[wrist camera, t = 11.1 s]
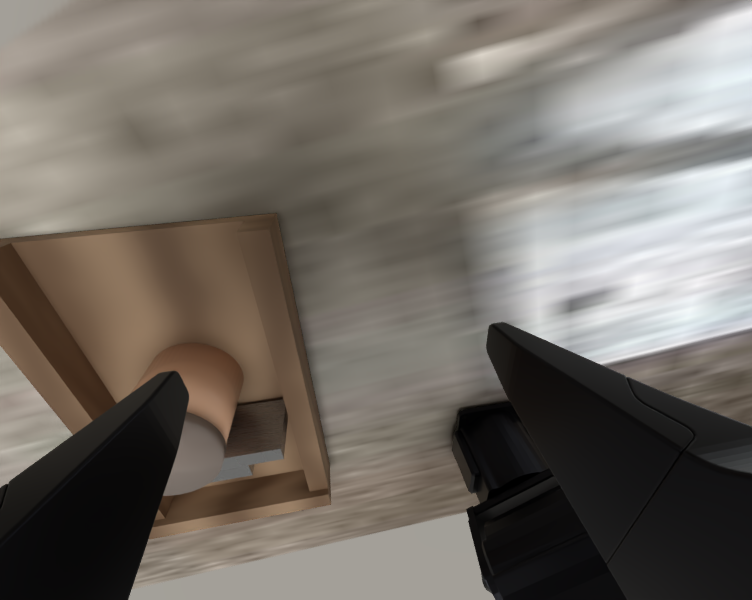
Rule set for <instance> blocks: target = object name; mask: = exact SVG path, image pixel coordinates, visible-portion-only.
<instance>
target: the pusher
mask: <svg viewBox="0 0 752 600" xmlns="http://www.w3.org/2000/svg"><path fill="white" fill-rule="evenodd" d="M287 423H288V413H287V410H286V406H285V403H284V399H281V400H275V401H268V402H262V403H256V404H249V405H243V406H237V407H236V411H235V414H234V418H233V421H232V425H231V429H230V432H229V436H228V439H227V443H226V454H225V457H224V461H223V464H222V468H221V471H220V472H219V474H218V475H217V477H216V478H215V479H214V480H213V481H212V482H218V481H223V480H229V479H235V478H240V477H246V476H251V475H253V470H254V465H255V464H258V463H264V462H269V461H275V460H281V459H284V453H285V443H286V433H287ZM212 482H210V483H212Z"/></svg>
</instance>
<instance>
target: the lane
mask: <svg viewBox="0 0 752 600" xmlns="http://www.w3.org/2000/svg"><path fill="white" fill-rule="evenodd" d="M184 343H199V344H205V345H210V346H213V347H216V348H218V349H221V350H223V351H224V352H226V353H228V354H229V355H230V356H232V357H233V358H234V359H235V360H236V361H237V362H238V364H239V365H240V367H241V369H242V372H243V377H244V381H243V386H242V389H241V393H240V397H239V400H238V404H237V406H243V405H249V404H256V403H262V402H268V401H275V400H281V399H284V403H285V406H286V410H287V413H288V423H287V433H286V443H285V453H284V459H281V460H275V461H269V462H264V463H258V464H255V465H254V470H253V475H251V476H246V477H240V478H235V479H229V480H223V481H218V482H212V483H209V484H207V485H206V486H204V487H202V488H200V489H198V490H195V491H192V492H189V493H184V494H179V495H172V496H163V497H162V500H161V503H160V506H159V509H158V512H157V515H156V518H155V521H154V524H153V527H152V530H151V533H150V536H149V539H154V538H159V537H164V536H169V535H175V534H180V533H185V532H190V531H196V530H201V529H206V528H211V527H216V526H222V525H227V524H232V523H237V522H243V521H248V520H253V519H258V518H263V517H269V516H274V515H279V514H284V513H290V512H295V511H300V510H305V509H310V508H316V507H321V506H326V505H331V490H330V464H329V459H328V454H327V449H326V445H325V440H324V435H323V431H322V426H321V421H320V416H319V412H318V407H317V402H316V397H315V393H314V388H313V383H312V379H311V374H310V369H309V364H308V360H307V355H306V350H305V346H304V341H303V336H302V331H301V327H300V322H299V317H298V312H297V308H296V303H295V298H294V294H293V289H292V284H291V279H290V275H289V270H288V265H287V260H286V256H285V251H284V246H283V242H282V237H281V232H280V227H279V223H278V218H277V213H272V214H262V215H251V216H240V217H230V218H219V219H208V220H198V221H187V222H176V223H166V224H155V225H144V226H134V227H123V228H112V229H102V230H91V231H80V232H69V233H59V234H48V235H37V236H27V237H16V238H5V239H0V346H1V347H2V348H3V349H4V351H5V352H6V353H7V354H8V356H9V357H10V358H11V359H12V360H13V362H14V363H15V364H16V365H17V367H18V368H19V369H20V370H21V371H22V373H23V374H24V375H25V376H26V378H27V379H28V380H29V381H30V383H31V384H32V385H33V386H34V387H35V389H36V390H37V391H38V392H39V394H40V395H41V396H42V397H43V398H44V400H45V401H46V402H47V403H48V405H49V406H50V407H51V408H52V409H53V411H54V412H55V413H56V414H57V416H58V417H59V418H60V419H61V420H62V422H63V423H64V424H65V425H66V427H67V428H68V429H69V430H70V432H71V433H72V434H73V435H74V434H75V433H77V432H78V431H80V430H81V429H82V428H84V427H85V426H86V425H88V424H89V423H91V422H92V421H93V420H95V419H96V418H97V417H99V416H100V415H102V414H103V413H104V412H106V411H107V410H109V409H110V408H111V407H113V406H114V405H115V404H117V403H118V402H120V401H121V400H122V399H124V398H125V397H126V396H128V395H129V394H130V393H131V392H132V391H133V389H134V388H135V386H136V385H137V383H138V382H139V380H140V379H141V377H142V376H143V374H144V373H145V371H146V370H147V368H148V367H149V365H150V364H151V362H152V361H153V360H154V358H155V357H156V356H157V355H158V354H159V353H160V352H161V351H163V350H165V349H167V348H169V347H171V346H174V345H178V344H184Z"/></svg>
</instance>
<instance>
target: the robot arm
mask: <svg viewBox="0 0 752 600" xmlns="http://www.w3.org/2000/svg"><path fill="white" fill-rule="evenodd" d="M486 349H487V353H488V355H489V358H490V360H491V362H492V364H493V366H494V369H495V371H496V373H497V375H498V378H499V380H500V382H501V384H502V386H503V389H504V391H505V393H506V395H507V397H508V398H509V400H510V402H508V403H502V404H496V405H490V406H484V407H478V408H472V409H466V410H462V411H460V412H459V413H458V417H457V426H456V431H455V432H454V437H453V446H452V451H453V453H454V457H455V459H456V461H457V463H458V466H459V468H460V471H461V473H462V476H463V478H464V481H465V483H466V486H467V488H468V491H469V492H471V493H476V494H477V497H478V499H479V501H480V504H478V505H476V506H474V507H473V506H471V507H469V508H468V509H466V510H467V514H468V517H469V521H468V522H469V526H470V530H471V534H472V538H473V541H474V546H475V549H476V553H477V557H478V561H479V565H480V569H481V575H482V581H483V584H484V587H485V588H486V590H487V591H489V592H491V593H492V594H493V596H494V598H495V600H752V426H749V425H747V424H744V423H741V422H739V421H736V420H734V419H731V418H728V417H726V416H723V415H720V414H718V413H715V412H713V411H710V410H707V409H705V408H702V407H700V406H697V405H694V404H692V403H689V402H687V401H684V400H682V399H679V398H677V397H674V396H672V395H669V394H667V393H664V392H662V391H660V390H657V389H655V388H652V387H650V386H648V385H645V384H643V383H641V382H639V381H636V380H634V379H632V378H630V377H625V375H623V374H620V373H618V372H616V371H614V370H611V369H609V368H607V367H605V366H602V365H600V364H598V363H595V362H593V361H591V360H589V359H586V358H584V357H582V356H580V355H577V354H575V353H573V352H571V351H568V350H566V349H564V348H561V347H559V346H557V345H555V344H552V343H550V342H548V341H546V340H543V339H541V338H539V337H536V336H534V335H532V334H530V333H527V332H525V331H523V330H521V329H518V328H516V327H514V326H512V325H509V324H507V323H505V322H500V323H493V324H491V325H490V326H489V329H488V336H487V343H486ZM188 403H189V392H188V390H187V388H186V386H185V384H184V382H183V380H182V378H181V376H180V374H179V373H178V372H177V371H174V370H173V371H166V372H161V373H158V374H157V375H155V376H154V377H153V378H151V379H150V380H149V381H147V382H146V383H144V384H143V385H142V386H140V387H139V388H138V389H136V390H135V391H133V392H132V393H131V394H129V395H128V396H126V397H125V398H124V399H122V400H121V401H120V402H118V403H117V404H115V405H114V406H113V407H111V408H110V409H109V410H107V411H106V412H104V413H103V414H102V415H100V416H99V417H97V418H96V419H95V420H93V421H92V422H91V423H89V424H88V425H86V426H85V427H84V428H82V429H81V430H80V431H78V432H77V433H75V434H74V435H73V436H71V437H70V438H68V439H67V440H66V441H64V442H63V443H62V444H60V445H59V446H57V447H56V448H55V449H53V450H52V451H51V452H49V453H48V454H46V455H45V456H44V457H42V458H41V459H39V460H38V461H37V462H35V463H34V464H33V465H31V466H30V467H28V468H27V469H26V470H24V471H23V472H22V473H20V474H19V475H17V476H16V477H15V478H13V479H12V480H11V481H10V482H9V484H5V485H3V486H2V487H1V488H0V600H128V598H129V595H130V592H131V589H132V586H133V583H134V580H135V577H136V574H137V571H138V569H139V566H140V563H141V560H142V557H143V554H144V551H145V548H146V545H147V542H148V539H149V536H150V533H151V530H152V527H153V524H154V521H155V518H156V515H157V512H158V509H159V506H160V503H161V500H162V497H163V494H164V491H165V488H166V485H167V482H168V479H169V477H170V474H171V471H172V468H173V465H174V462H175V458H176V455H177V452H178V448H179V444H180V440H181V435H182V430H183V426H184V421H185V416H186V412H187V407H188Z"/></svg>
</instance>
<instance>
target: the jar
mask: <svg viewBox="0 0 752 600" xmlns="http://www.w3.org/2000/svg"><path fill="white" fill-rule="evenodd" d="M173 370H174V371H177V372H178V373H179V374H180V376H181V378H182V380H183V382H184V384H185V386H186V388H187V390H188V392H189V403H188V407H187V412H186V416H185V421H184V426H183V430H182V435H181V440H180V444H179V448H178V452H177V455H176V458H175V462H174V465H173V468H172V471H171V474H170V477H169V479H168V482H167V485H166V488H165V491H164V494H163V496H172V495H179V494H184V493H189V492H192V491H195V490H198V489H200V488H202V487H204V486H206V485H207V484H209V483H210V482H212V481H213V480H214V479H215V478H216V477H217V475H218V474H219V472H220V471H221V468H222V464H223V461H224V457H225V454H226V443H227V439H228V436H229V432H230V429H231V425H232V421H233V418H234V414H235V411H236V407H237V404H238V400H239V397H240V393H241V389H242V386H243V381H244V377H243V372H242V369H241V367H240V365H239V364H238V362H237V361H236V360H235V359H234V358H233V357H232V356H230V355H229V354H228V353H226V352H224V351H223V350H221V349H218V348H216V347H213V346H210V345H205V344H199V343H184V344H178V345H174V346H171V347H169V348H167V349H165V350H163V351H161V352H160V353H159V354H158V355H157V356H156V357H155V358H154V360H153V361H152V362H151V364H150V365H149V367H148V368H147V370H146V371H145V373H144V374H143V376H142V377H141V379H140V380H139V382H138V383H137V385H136V386H135V388H134V389H133V391H135V390H136V389H138V388H139V387H140V386H142V385H143V384H144V383H146V382H147V381H149V380H150V379H151V378H153V377H154V376H155V375H157V374H158V373H161V372H166V371H173ZM133 391H132V392H133ZM132 392H131V393H132ZM131 393H130V394H131Z"/></svg>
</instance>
